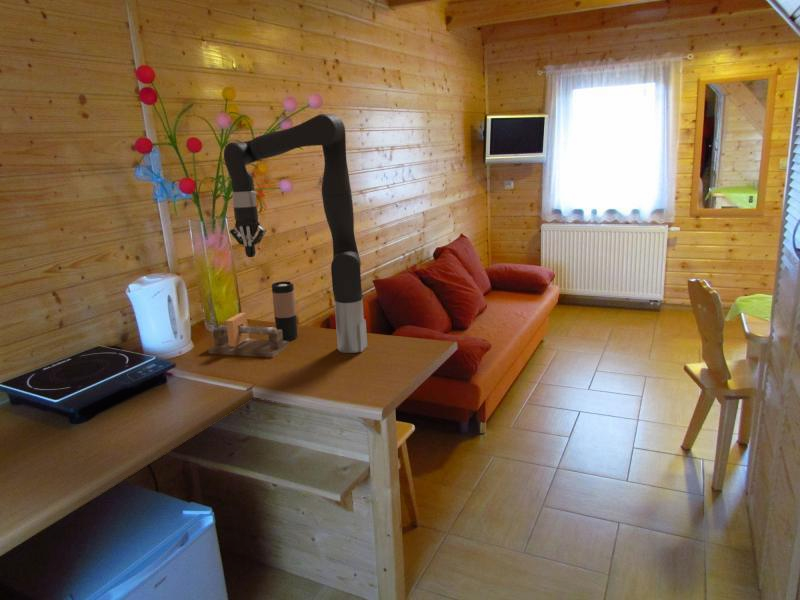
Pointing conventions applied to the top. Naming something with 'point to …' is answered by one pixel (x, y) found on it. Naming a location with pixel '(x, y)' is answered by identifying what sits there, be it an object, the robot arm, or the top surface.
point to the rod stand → (249, 342)
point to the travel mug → (285, 309)
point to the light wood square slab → (236, 329)
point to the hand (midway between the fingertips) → (250, 256)
